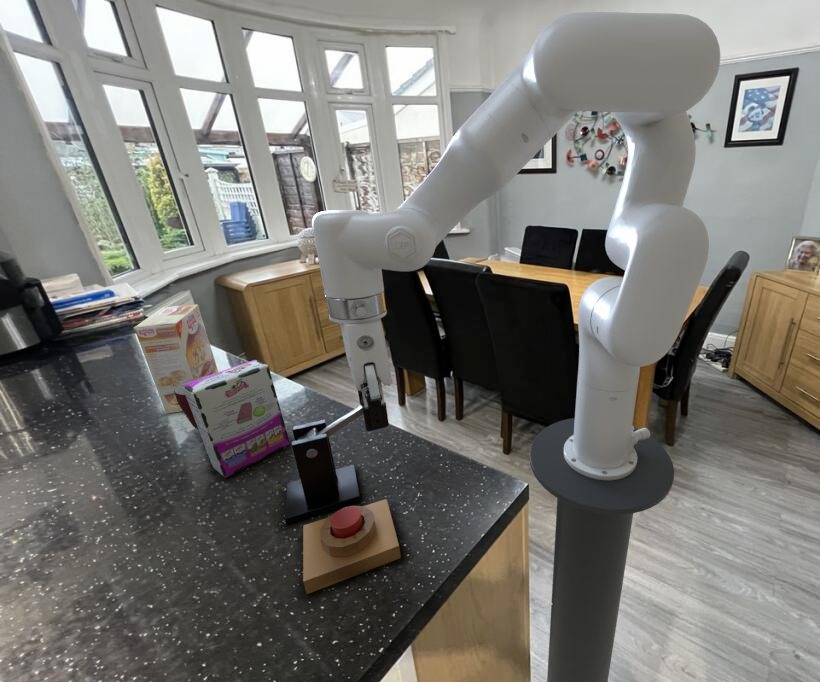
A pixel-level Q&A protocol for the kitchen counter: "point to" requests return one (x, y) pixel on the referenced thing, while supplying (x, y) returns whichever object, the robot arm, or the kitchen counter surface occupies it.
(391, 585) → the kitchen counter surface
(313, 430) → the switch lever
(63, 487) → the kitchen counter surface
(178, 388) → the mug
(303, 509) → the switch bracket
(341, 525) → the button
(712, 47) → the robot arm
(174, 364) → the coffeecake box
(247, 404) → the candy bar box
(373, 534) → the button block
